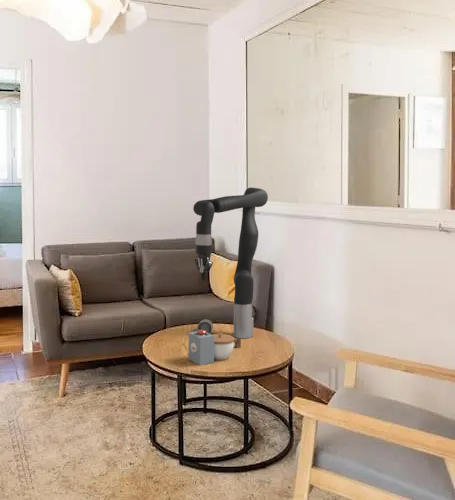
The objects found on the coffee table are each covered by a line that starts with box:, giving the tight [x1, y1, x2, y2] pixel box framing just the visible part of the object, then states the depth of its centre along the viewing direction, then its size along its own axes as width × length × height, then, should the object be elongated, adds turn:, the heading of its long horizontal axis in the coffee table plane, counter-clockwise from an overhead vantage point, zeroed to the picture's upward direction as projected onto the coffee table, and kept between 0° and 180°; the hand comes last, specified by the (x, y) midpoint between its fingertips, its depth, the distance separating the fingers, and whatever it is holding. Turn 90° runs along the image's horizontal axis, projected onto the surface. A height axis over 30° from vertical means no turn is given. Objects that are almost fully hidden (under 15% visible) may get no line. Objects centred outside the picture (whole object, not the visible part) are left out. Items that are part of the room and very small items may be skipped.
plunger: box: [197, 330, 206, 337], centre depth 258 cm, size 4×4×6 cm
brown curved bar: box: [234, 337, 242, 349], centre depth 274 cm, size 24×2×4 cm, turn 124°
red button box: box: [188, 331, 215, 366], centre depth 259 cm, size 8×10×12 cm
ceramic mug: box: [191, 318, 214, 334], centre depth 303 cm, size 11×8×8 cm
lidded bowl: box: [212, 332, 235, 361], centre depth 264 cm, size 13×13×11 cm
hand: (203, 280), depth 278 cm, fingers closed
